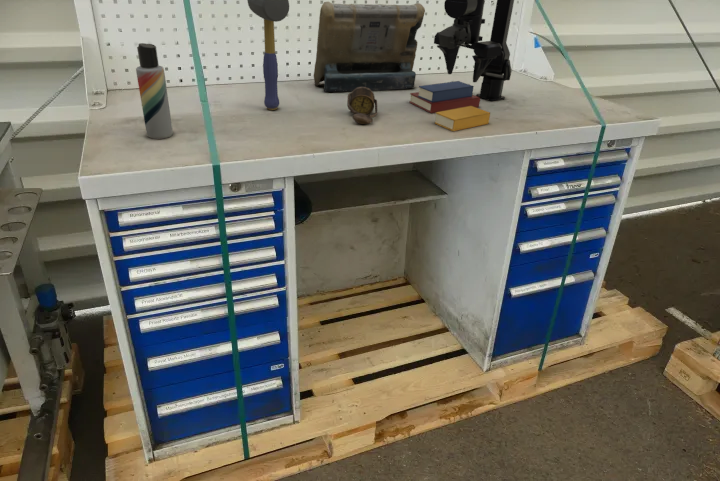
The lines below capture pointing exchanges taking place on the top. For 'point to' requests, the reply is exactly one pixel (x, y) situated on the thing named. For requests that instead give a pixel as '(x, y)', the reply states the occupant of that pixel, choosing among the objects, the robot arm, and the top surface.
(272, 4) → the rubber mallet
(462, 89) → the middle book
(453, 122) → the top book
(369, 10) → the tablet
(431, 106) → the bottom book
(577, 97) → the top surface
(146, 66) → the lotion bottle
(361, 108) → the brown round dial piece
